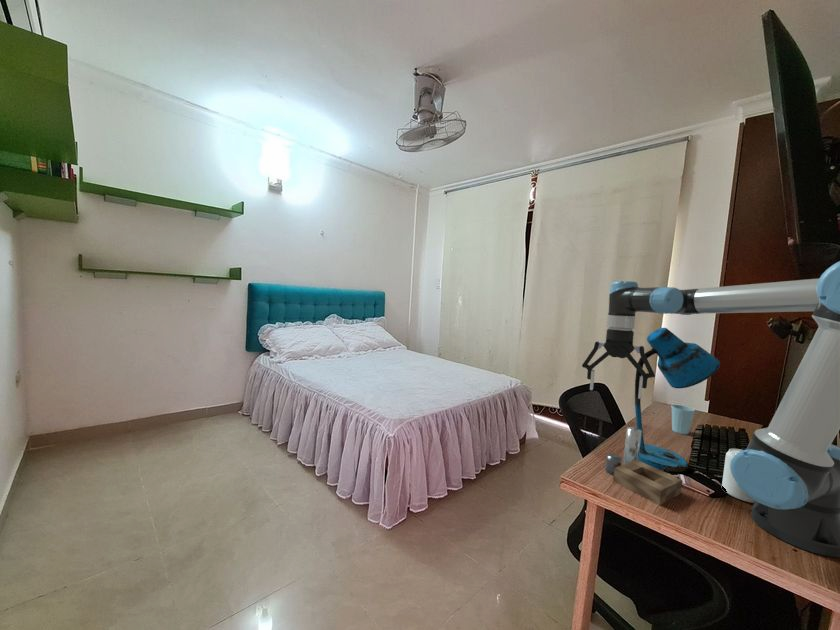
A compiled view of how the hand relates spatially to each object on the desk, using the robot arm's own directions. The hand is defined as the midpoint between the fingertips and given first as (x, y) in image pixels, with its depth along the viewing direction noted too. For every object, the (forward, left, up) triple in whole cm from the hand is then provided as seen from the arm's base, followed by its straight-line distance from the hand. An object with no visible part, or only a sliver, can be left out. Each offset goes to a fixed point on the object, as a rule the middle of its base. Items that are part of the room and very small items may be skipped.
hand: (614, 393), depth 107 cm
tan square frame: (-14, +5, -23) cm, 27 cm away
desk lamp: (-8, -19, -23) cm, 30 cm away
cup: (+2, -56, -23) cm, 60 cm away
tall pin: (-5, -4, -23) cm, 23 cm away
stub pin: (-5, +6, -23) cm, 24 cm away
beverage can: (-28, -17, -23) cm, 40 cm away
